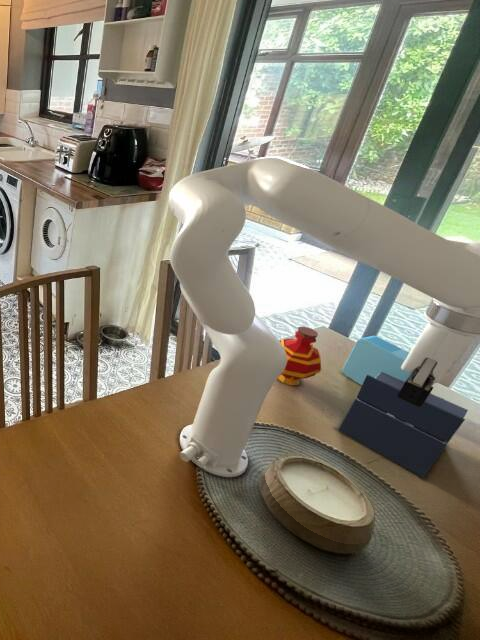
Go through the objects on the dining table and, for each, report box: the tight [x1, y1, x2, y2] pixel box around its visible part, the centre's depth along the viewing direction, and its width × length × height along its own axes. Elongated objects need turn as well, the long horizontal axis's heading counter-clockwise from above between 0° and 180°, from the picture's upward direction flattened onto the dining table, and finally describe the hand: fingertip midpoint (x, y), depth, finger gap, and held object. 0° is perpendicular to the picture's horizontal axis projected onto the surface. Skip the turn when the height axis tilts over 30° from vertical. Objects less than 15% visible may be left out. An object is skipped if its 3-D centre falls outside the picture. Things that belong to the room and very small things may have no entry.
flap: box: [356, 375, 466, 443], centre depth 80 cm, size 7×14×1 cm
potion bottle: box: [277, 326, 322, 386], centre depth 104 cm, size 10×10×15 cm
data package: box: [342, 335, 414, 386], centre depth 102 cm, size 12×4×12 cm, turn 16°
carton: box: [338, 372, 469, 479], centre depth 88 cm, size 15×14×10 cm
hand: (409, 400), depth 75 cm, fingers closed
